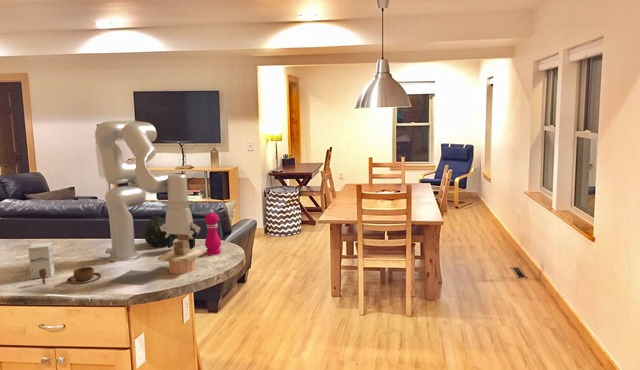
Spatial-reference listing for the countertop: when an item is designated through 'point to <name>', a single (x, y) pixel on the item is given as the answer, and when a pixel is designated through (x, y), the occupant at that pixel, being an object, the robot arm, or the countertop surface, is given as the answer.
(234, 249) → the countertop surface
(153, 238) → the squash
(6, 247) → the countertop surface
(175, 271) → the bowl
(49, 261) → the supplement box
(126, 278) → the tray
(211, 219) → the pepper mill
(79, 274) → the place setting
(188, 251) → the lid
